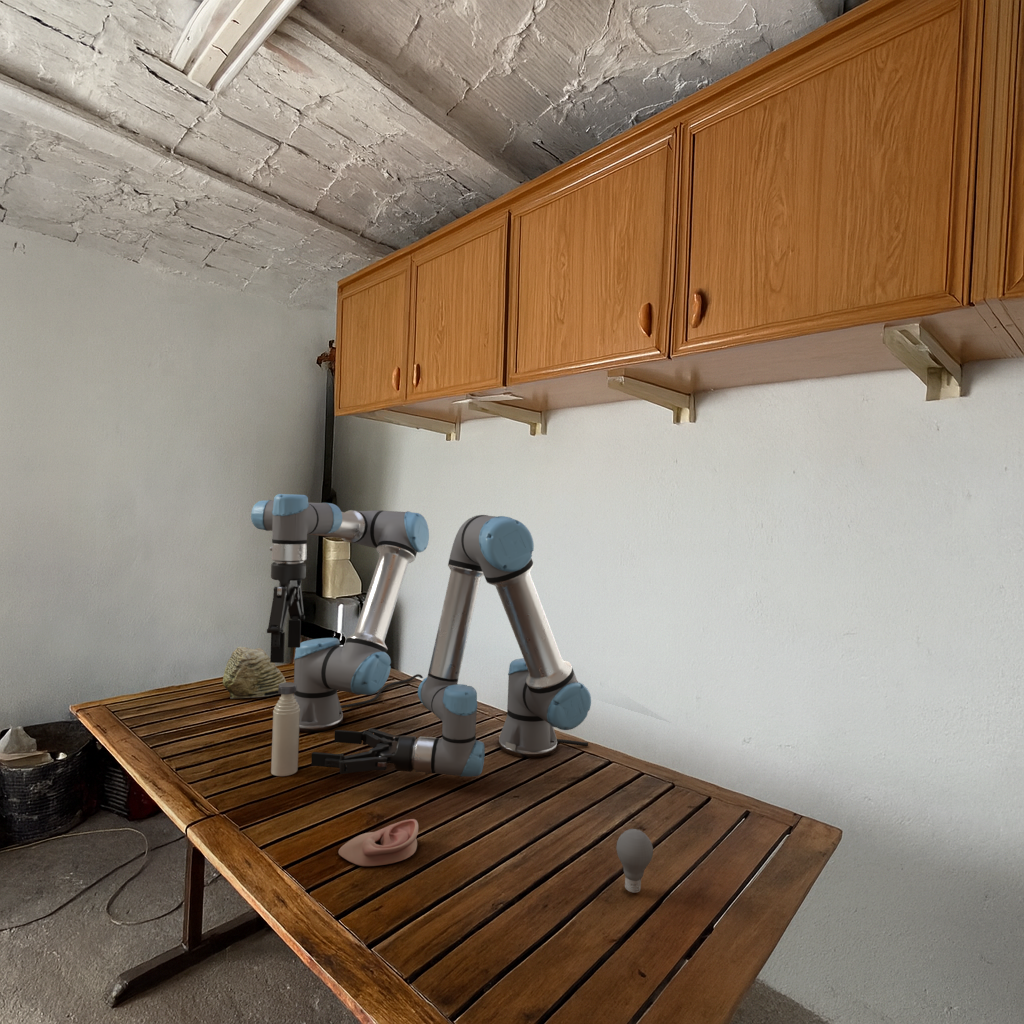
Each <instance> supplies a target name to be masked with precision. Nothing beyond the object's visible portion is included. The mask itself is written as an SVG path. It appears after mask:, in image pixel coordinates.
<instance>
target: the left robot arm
mask: <svg viewBox="0 0 1024 1024" xmlns="http://www.w3.org/2000/svg"><path fill="white" fill-rule="evenodd" d="M250 519H251V523H252V525H253V526H254V527H255V528H256V529H257V530H262V531H267V532H269V531H271V533H272V536H271V546H270V547H269V548H268V549H269V551H271V560H272V561H273V562H272V563H270V564H271V565H270V579H272V580H273V581H278V582H279V583H278V586H274V587H273V595H272V601H271V608H270V615H269V620H268V626H267V628H266V634H270V655H269V658H270V663H275V664H276V663H277V664H283V663H285V641H286V640H285V639H286V632H284V630H285V627H286V626H285V625H286V622H287V617H288V614H289V620H288V627H287V629H288V630H287V631H288V633H287V648H293V649H295V652H294V653H295V654H294V657H293V660H294V661H293V662H294V663H293V664H294V668H293V683H296V686H297V690H296V692H295V693H293V696H294V697H295V699H296V702H298V705H299V708H300V725H299V732H301V733H316V732H325V731H329V730H332V729H335V728H337V727H339V726H340V725H342V723H343V722H344V714H343V709H345V708H352V707H357V706H361V705H366V704H370V703H372V702H374V701H376V700H377V699H378V698H379V697H380V694H381V693H383V691H385V690H386V689H387V688H390V687H392V686H396V685H400V684H405V683H408V682H411V681H413V680H414V679H415V678H420V679H423V678H424V677H423V675H422V674H419V673H417V674H415V675H413V676H411V677H409V678H406V679H403V680H397V681H393V682H389V683H388V684H386V683H387V682H388V679H389V676H390V673H391V668H392V666H391V664H392V660H391V656H389V654H388V653H387V652H388V647H387V645H386V643H385V640H386V638H387V634H388V631H389V628H390V625H391V621H392V619H393V614H394V611H395V608H396V604H397V601H398V598H399V595H400V592H401V589H402V585H403V582H404V579H405V575H406V572H407V569H408V565H409V564H411V563H413V562H414V561H415V560H416V557H417V554H418V553H423V552H425V550H426V549H427V548H428V546H429V541H430V531H429V530H430V529H429V525H428V522H427V520H426V518H425V517H424V516H423V515H422V514H421V513H419V512H412V511H409V510H407V511H397V510H396V511H395V510H381V509H380V510H379V509H378V510H353V509H350V510H349V509H348V510H347V511H342V510H341V508H340V507H339V506H338V505H336V504H334V503H331V502H309V497H308V496H307V495H306V494H295V493H294V494H292V493H278V494H276V495H275V496H274V497H273V500H271V499H268V500H265V499H264V500H258V501H257V502H255V504H254V505H253V506H252V508H251V513H250ZM309 535H311V536H319V537H328V538H336V539H341V540H342V541H343V542H346V543H350V544H356V545H361V546H364V547H368V548H372V549H376V552H377V553H378V555H379V557H378V560H377V562H376V566H375V569H374V571H373V575H372V578H371V581H370V584H369V586H368V589H367V592H366V596H365V599H364V602H363V605H362V608H361V611H360V613H359V617H358V620H357V623H356V626H355V628H354V632H353V634H350V635H349V636H347V637H346V638H345V642H344V645H343V646H341V645H340V644H341V642H340V640H339V638H337V637H321V638H313V639H307V640H304V641H302V642H301V639H302V638H301V635H302V620H305V619H306V615H305V610H304V601H303V600H304V599H303V591H302V580H305V579H306V577H307V564H306V562H305V561H307V557H308V555H307V554H308V553H307V551H308V543H307V542H308V536H309ZM338 691H340V692H346V693H351V694H354V695H357V696H359V695H363V696H364V695H365V696H372V695H375V694H376V695H375V696H374V697H373V698H370V699H367V700H363V701H358V702H353V703H347V704H341V702H340V699H339V695H338Z"/></svg>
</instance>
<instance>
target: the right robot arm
mask: <svg viewBox="0 0 1024 1024" xmlns="http://www.w3.org/2000/svg"><path fill="white" fill-rule="evenodd" d="M534 547H535V544H534V539H533V535H532V533H531V531H530V529H529V528H528V527H527V526H526V525H525V524H524V523H522V522H521V521H519V520H518V519H515V518H512V517H510V516H504V515H499V516H497V515H496V516H495V515H494V516H493V515H487V514H479V515H478V514H477V515H474V516H471V517H470V518H468V519H466V520H465V521H464V522H463V523H462V525H461V526H460V527H459V529H458V531H457V533H456V534H455V537H454V539H453V542H452V546H451V550H450V553H449V558H448V563H447V567H448V568H449V570H450V573H449V577H448V581H447V587H446V592H445V594H444V595H445V596H444V600H443V604H442V609H441V614H440V619H439V622H438V626H437V631H436V637H435V641H434V645H433V651H432V655H431V659H430V664H429V667H428V673H427V677H425V678H424V679H422V681H421V682H420V683H419V685H418V687H417V696H418V699H419V701H420V703H421V704H422V706H423V707H424V708H425V709H426V710H427V711H430V712H431V713H433V715H434V716H436V717H437V719H439V720H440V721H441V722H442V723H441V724H442V726H441V727H442V729H441V738H440V737H432V736H419V737H416V735H398V734H397V735H396V734H392V733H388V732H385V731H382V730H379V729H376V728H371V727H369V728H367V730H363V731H357V730H345V729H344V730H343V729H335V730H334V735H333V736H334V740H333V741H334V743H338V744H339V743H341V744H351V745H352V744H353V745H362V746H369V747H370V749H369V750H367V751H362V752H358V753H353V754H349V755H344V753H332V752H331V753H328V752H317V751H313V752H311V761H310V762H311V767H321V768H334V769H339V774H340V775H344V774H345V775H347V774H355V773H362V772H369V771H370V772H372V771H387V769H388V765H389V764H394V768H395V770H396V771H398V772H407V773H411V772H413V771H414V772H415V773H422V774H425V775H426V776H427V775H429V774H434V775H435V774H436V775H447V776H455V777H461V778H462V777H466V778H467V777H468V778H469V777H479V776H480V775H481V774H482V772H483V770H484V764H485V753H486V750H485V749H486V748H485V746H486V745H485V743H484V741H481V740H477V737H476V736H477V735H476V729H477V715H478V714H477V713H478V705H479V704H478V692H477V690H476V688H475V687H473V686H472V685H468V684H463V683H458V682H459V677H460V673H461V668H462V664H463V660H464V655H465V650H466V646H467V641H468V637H469V633H470V629H471V624H472V619H473V614H474V610H475V606H476V602H477V597H478V594H479V593H478V592H479V588H480V584H481V579H482V577H484V579H485V582H486V583H487V584H489V585H491V586H494V587H495V589H496V591H497V593H498V596H499V599H500V601H501V604H502V606H503V609H504V612H505V614H506V617H507V620H508V622H509V625H510V626H511V629H512V633H513V635H514V638H515V640H516V642H517V645H518V648H519V650H520V653H521V655H522V657H521V658H516V659H514V660H511V662H510V663H509V667H508V672H507V675H508V684H507V711H506V718H505V721H504V723H503V726H502V729H501V731H500V734H499V737H498V747H499V749H500V750H501V751H502V752H504V753H506V754H507V755H511V756H513V757H517V758H518V757H519V758H526V759H528V758H529V759H536V758H537V759H539V758H544V757H548V756H550V755H553V754H554V753H556V752H557V749H558V744H563V745H564V744H565V745H572V746H580V747H589V742H588V741H579V740H569V739H559V738H557V735H556V731H555V728H557V729H559V730H560V731H561V730H562V731H569V730H573V729H575V728H577V727H578V726H580V725H581V724H582V723H583V722H584V721H585V719H586V718H587V716H588V714H589V711H590V710H591V706H592V695H591V692H590V690H589V689H588V687H587V686H586V685H585V684H584V683H582V682H579V681H578V679H577V677H576V673H575V671H574V668H573V666H572V664H571V662H569V661H568V660H566V659H563V657H562V655H561V652H560V649H559V646H558V644H557V642H556V641H557V640H556V639H555V638H556V637H555V636H554V633H553V631H552V627H551V625H550V623H549V620H548V617H547V615H546V612H545V609H544V606H543V604H542V601H541V599H540V596H539V593H538V590H537V588H536V586H535V583H534V580H533V577H532V575H531V572H532V570H533V568H534V561H533V559H532V557H533V552H534Z"/></svg>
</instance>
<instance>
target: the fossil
mask: <svg viewBox="0 0 1024 1024" xmlns="http://www.w3.org/2000/svg"><path fill="white" fill-rule="evenodd" d="M222 676H223V677H222V685H223V687H224V688H225V690H226V691H228V693H229V698H230V699H250V698H264V697H271V696H275V695H281V694H280V693H279V692H278V688H279V684H281V683H285V682H287V680H286V678H285V676H284V674H283V673H282V672H281V669H279V668H278V667H277V665H276V663H270V655H268V654H267V653H266V652H265V650H264V649H263V648H260V647H258V648H251V647H247V646H246V647H245V646H238V647H237V648H236V649H235V650H233V651H232V653H231V656H230V657H229V659H228V660H227V663H226V666H225V668H224V671H223V675H222Z"/></svg>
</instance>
